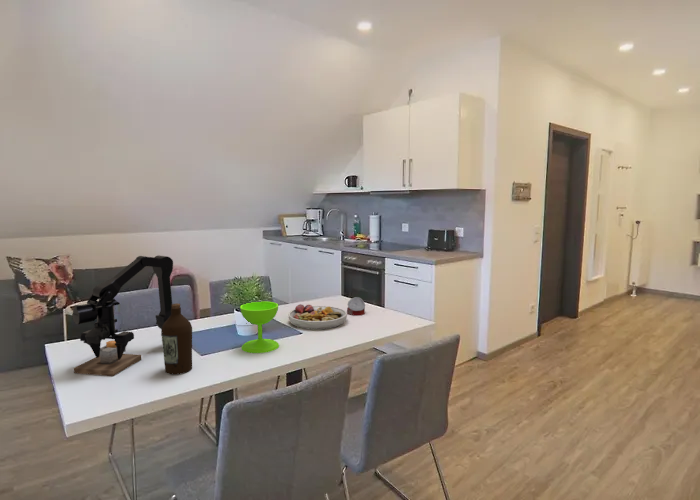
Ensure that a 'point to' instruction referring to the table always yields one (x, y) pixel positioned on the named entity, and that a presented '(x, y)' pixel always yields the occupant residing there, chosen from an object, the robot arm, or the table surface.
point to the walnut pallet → (104, 369)
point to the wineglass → (259, 325)
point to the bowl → (317, 317)
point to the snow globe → (356, 307)
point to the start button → (111, 344)
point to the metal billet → (108, 356)
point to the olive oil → (177, 342)
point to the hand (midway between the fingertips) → (108, 358)
